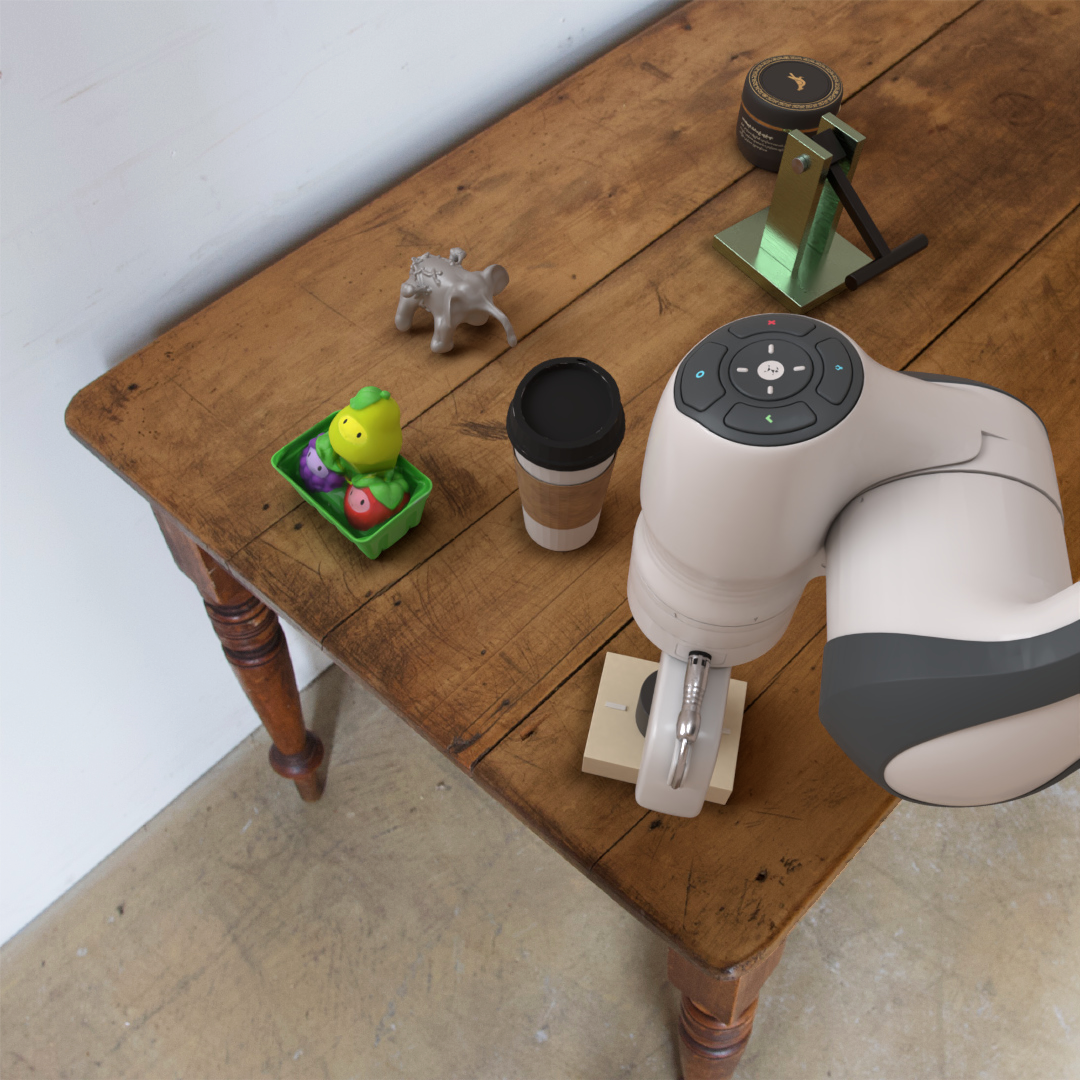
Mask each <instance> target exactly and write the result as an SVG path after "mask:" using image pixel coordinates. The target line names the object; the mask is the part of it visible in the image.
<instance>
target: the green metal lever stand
mask: <svg viewBox="0 0 1080 1080" xmlns="http://www.w3.org/2000/svg"><path fill="white" fill-rule="evenodd" d="M828 128H831V130H832V131H833V133H834V135H835V136H836V138H837V140H838V141H839V143H840V145H841V146H842V148H843V150H844V151H845V153H846V155H847V156H846V157H844V158H843V159H842V160H841V161H840V162H839V165H840V167H841V168H842V170H843V172H844V173H845V175H846V177H847V178H848V180H849V182H850V183H851V184H852V182H853V180H854V176H855V173H856V170H857V167H858V164H859V162H860V158H861V155H862V152H863V150H864V146H865V142H866V139H867V137H866V136H865V135H863V134H862V133H861V132H859V131H858V130H856V129H855V128H853V127H852V126H851V125H849V124H847V123H846V122H844V121H843V120H841V119H840V118H838V116H837V117H836V116H834V115H833V114H831V113H830V112H829V113H827V114H825V115H823V116H822V117H821V120H820V124H819V127H818V131H817V134H819V133H821V132H823V131H825V130H827V129H828ZM832 157H833V155H832V154H831V153H830V152H828V151H827V150H825V149H824V148H823V147H821V146H820V145H818V144H817V143H816V142H814V141H813V140H811V139H810V138H809V137H807V136H806V135H804V134H803V133H802V132H800V131H799V130H797V129H795V130H793V131H791V132H789V133H788V136H787V140H786V144H785V148H784V152H783V156H782V160H781V164H780V168H779V172H778V173H777V177H776V182H775V185H774V189H773V192H772V197H771V202H770V205H768V206H766V207H765V208H762V209H760V210H759V211H757V212H755V213H753V214H751V215H749V216H747V217H746V218H744V219H742V220H740V221H738V222H736V223H734V224H732V225H731V226H729V227H727V228H725V229H723V230H721V231H720V232H718V233H716V234H714V235H713V239H712V245H711V246H712V248H714V249H715V250H716V251H717V252H718V253H719V254H720V255H722V257H724V258H726V259H727V260H728V261H729V262H730V263H731V264H733V265H734V266H735V267H736V268H737V269H738V270H740V271H741V272H742V273H743V274H745V275H746V276H747V277H748V278H749V279H751V280H752V281H753V282H754V283H755V284H757V285H758V286H759V287H760V288H762V289H763V291H765V292H767V293H768V295H770V296H771V297H772V298H773V299H775V300H776V301H777V302H778V303H780V304H781V305H782V306H783V307H784V308H786V309H787V310H788V311H789V312H791V314H797V315H802V316H804V315H805V314H807V313H808V312H810V311H812V310H813V309H815V308H817V307H818V306H820V305H822V304H824V303H826V302H827V301H829V300H831V299H833V297H836V296H837V295H839V294H840V293H842V292H843V291H846V290H847V289H848V288H847V287H846V285H845V278H846V276H847V275H849V274H851V273H853V272H854V271H856V270H858V269H859V268H861V267H863V266H864V265H866V264H868V263H870V262H871V261H873V260H874V259H872V258H871V257H869V256H868V255H867V254H866V253H865V252H863V251H861V249H859V248H858V247H857V246H855V245H854V244H853V243H851V242H850V241H849V240H847V239H846V238H845V237H843V235H841V234H840V233H838V232H837V229H838V225H839V222H840V219H841V216H842V213H843V211H844V206H843V205H842V203H841V201H840V200H839V198H838V196H837V195H836V193H835V191H834V190H833V188H832V186H831V185H830V183H829V181H828V180H827V178H826V177H827V174H828V170H829V167H830V164H831V160H832Z"/></svg>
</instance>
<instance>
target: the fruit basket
mask: <svg viewBox="0 0 1080 1080" xmlns="http://www.w3.org/2000/svg"><path fill="white" fill-rule="evenodd" d="M401 416H402V413H401V409H400V406H399V404H398V402H397V401H396V399H394V398H393V397H392V396H391V392H390V391H388V390H382V389H381V388H379V387H377V386H375V385H374V386H373V385H368V386H364V387H362V388H360V390H358V392H357V393H356V395H355V396H354V397H351V398H350V399H349V404H348V405H346V406H344V408H342V409H337V410H335V411H333V412H331V413H330V414H329V415H327V416H326V417H325V418H323V419H322V420H319V421H318V422H317V423H315V424H313V426H311V427H310V428H308V429H307V430H305V431H303V432H302V433H301V434H300V435H298V436H297V437H296V438H294V439H292V440H291V441H290V442H288V443H287V444H285V445H283V446H282V447H281V448H280V449H279V450H278V451H276V452H275V453H274V454H273V455H272V456H271V459H270V464H271V466H272V467H273V468H274V469H275V470H276V472H277V473H278V474H279V475H280V476H282V478H284V479H285V480H286V481H287V482H288V483H289V484H290V485H291V486H292V487H293V488H294V490H295V491H296V492H297V493H298V495H299V496H300V497H301V498H302V499H303V500H304V501H306V503H307V504H309V505H310V506H311V507H313V508H315V509H316V510H317V512H318V513H319V514H320V515H321V516H322V517H323V518H324V519H325V520H327V521H328V523H330V524H331V525H333V526H335V528H337V530H338V531H339V532H340V533H341V534H342V535H343V536H344V537H345V538H346V539H347V540H349V541H350V542H351V543H354V544H355V545H356V546H357V548H358V549H359V550H360V552H362V553H363V554H364V555H365V556H366V557H367V558H368V559H369V560H372V561H373V560H376V559H377V558H379V556H380V554H382V552H383V551H385V550H387V549H389V548H391V547H392V546H393V545H394V544H395V543H397V542H398V541H399V540H401V539H402V538H403V537H404V536H405V535H406V534H407V533H408V532H409V529H412V528H415V527H416V526H418V525H419V524H420V522H421V519H422V516H423V513H424V509H425V506H426V502H427V500H428V499H429V497H430V495H431V493H432V489H433V481H432V480H431V479H430V477H428V476H427V475H425V474H424V473H423V472H422V471H421V470H419V468H417V467H416V466H415V465H414V464H412V463H411V462H410V461H409V460H408V459H407V458H405V457H404V456H403V455H402V454H400V452H401V450H402V446H403V430H402V426H401V418H402V417H401Z"/></svg>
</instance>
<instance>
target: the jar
mask: <svg viewBox="0 0 1080 1080" xmlns="http://www.w3.org/2000/svg"><path fill="white" fill-rule="evenodd" d="M740 95H741V96H740V105H739V109H738V116H737V120H736V127H735V134H736V144H737V147H738V150H739V151H740V153H741V154H742V156H743V157H744V158H745V160H746V161H748V162H749V163H750V164H751V165H753V166H755V167H757V168H759V169H761V170H764V171H766V172H771V173H776V174H778V172H779V168H780V164H781V160H782V156H783V152H784V148H785V144H786V140H787V136H788V133H789V132H791V131H793V130H795V129H797V130H799V131H800V132H802V133H803V134H804V135H806V136H807V137H809V138H810V139H811V138H812V137H813V136H815V135H817V131H818V127H819V124H820V120H821V117H822V116H823V115H825V114H827V113H829V112H830V113H831V114H833V115H834V116H836V117H837V118H838V117H839V114H840V112H841V107H842V100H843V96H844V85H843V81H842V79H841V77H840V76H839V74H838V73H837V71H836V70H834V69H832V67H830V66H829V65H827V64H825V63H824V62H821V61H820V60H817V59H815V58H811V57H808V56H804V55H796V54H780V55H774V56H769V57H767V58H763V59H761V60H760V61H758V62H757V63H755V64H754V65H753V66H752V67H751V68H750V69H749V70H748V72H747V74H746V76H745V79H744V82H743V87H742V90H741V94H740Z"/></svg>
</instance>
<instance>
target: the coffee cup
mask: <svg viewBox="0 0 1080 1080" xmlns="http://www.w3.org/2000/svg"><path fill="white" fill-rule="evenodd" d="M620 392H621V391H620V388H619V385H618V383H617V381H616V380H615V378H614V377H613V375H612V374H611V373H610V372H609V371H607V370H606V369H605V368H604V367H603V366H601V365H600V364H597V363H596V362H594V361H592V360H590V359H588V358H585V357H582V356H562V357H555V358H550V359H547V360H544V361H541V362H540V363H538V364H537V365H535V366H534V367H532V368H531V369H530V370H529V371H528V372H526V374H525V375H524V376H523V377H522V379H521V380H520V381H519V383H518V385H517V386H516V389H515V392H514V395H513V398H512V399H511V401H510V403H509V405H508V409H507V412H506V418H505V429H506V434H507V437H508V440H509V441H510V444H511V452H512V458H513V463H514V469H515V475H516V481H517V486H518V489H519V490H518V491H519V496H520V502H521V508H522V514H523V515H522V516H523V522H524V527H525V530H526V532H527V534H528V535H529V537H530V538H531V540H533V542H535V543H536V544H537V545H539V546H541V547H542V548H544V549H548V550H550V551H555V552H568V551H573V550H577V549H579V548H581V547H583V546H585V545H586V544H587V543H589V541H590V540H591V539H592V538H593V537H594V536H595V533H596V531H597V528H598V525H599V521H600V516H601V512H602V510H603V509H602V508H603V507H604V503H605V499H606V496H607V493H608V489H609V485H610V482H611V478H612V474H613V471H614V467H615V464H616V461H617V455H618V452H619V448H620V446H621V444H622V443H623V441H624V439H625V435H626V430H627V428H626V413H625V409H624V406H623V402H622V397H621V393H620Z"/></svg>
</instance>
